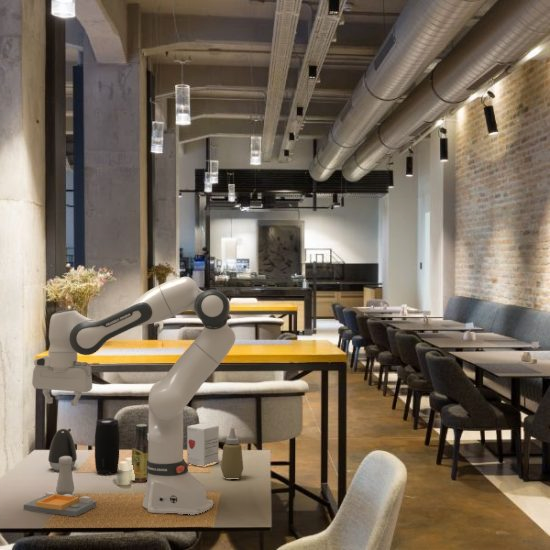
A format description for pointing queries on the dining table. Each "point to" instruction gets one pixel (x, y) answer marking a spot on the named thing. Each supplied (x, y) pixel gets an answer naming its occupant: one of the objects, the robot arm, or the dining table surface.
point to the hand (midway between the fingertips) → (61, 404)
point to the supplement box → (202, 444)
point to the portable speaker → (106, 446)
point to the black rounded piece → (62, 448)
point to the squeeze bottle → (232, 457)
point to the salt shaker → (65, 476)
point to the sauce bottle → (140, 453)
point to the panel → (61, 504)
